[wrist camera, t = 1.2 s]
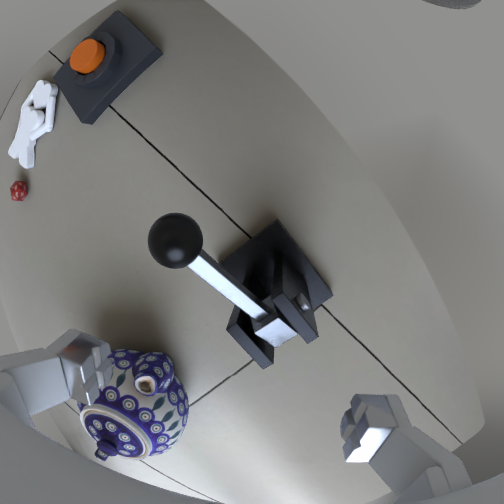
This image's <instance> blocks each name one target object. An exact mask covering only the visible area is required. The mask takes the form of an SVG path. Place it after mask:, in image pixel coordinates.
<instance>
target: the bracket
mask: <svg viewBox="0 0 504 504" xmlns="http://www.w3.org/2000/svg"><path fill="white" fill-rule="evenodd" d="M219 264H220V265H221V266H222V267H223V268H224V269H225V270H227V271H228V272H229V273H230V274H231V275H232V276H233V277H235V278H236V279H237V280H238V281H239V282H240V283H242V284H243V285H244V286H245V287H246V288H247V289H248V290H250V291H251V292H252V293H253V294H254V295H255V296H257V297H258V298H259V299H260V300H261V301H263V300H264V299H266V298H267V297H269V296H270V295H272V297H271V300H272V302H273V303H274V304H275V305H276V306H277V308H278V309H279V310H280V311H281V312H282V314H283V315H284V316H285V317H286V319H287V320H288V321H289V322H290V323H291V325H292V326H293V327H294V328H295V329H296V331H297V332H298V333H299V334H300V335H301V337H302V338H303V339H304V340H305V341H306V343H307V344H308V343H310V342H311V341H313V340H314V339H316V338H318V337H319V336H318V331H317V326H316V322H315V317H314V312H313V309H314V308H316V307H317V306H319V305H320V304H322V303H323V302H325V301H326V300H328V299H329V298H331V297H332V296H333V294H332V291H331V290H330V288H329V287H328V286H327V284H326V283H325V282H324V280H323V279H322V277H321V276H320V275H319V273H318V272H317V271H316V269H315V268H314V267H313V265H312V264H311V262H310V261H309V260H308V258H307V257H306V256H305V254H304V253H303V252H302V250H301V249H300V248H299V246H298V245H297V244H296V242H295V241H294V240H293V238H292V237H291V236H290V234H289V233H288V232H287V231H286V229H285V228H284V227H283V225H282V224H281V223H280V221H279V220H278V219H276V220H275V221H274V222H272V223H271V224H270V225H268V226H267V227H266V228H265V229H263V230H262V231H261V232H259V233H258V234H257V235H255V236H254V237H253V238H251V239H250V240H249V241H247V242H246V243H245V244H243V245H242V246H241V247H239V248H238V249H237V250H235V251H234V252H233V253H231V254H230V255H229V256H227V257H226V258H225V259H224V260H222V261H221V262H220V263H219ZM226 330H227V331H228V332H229V333H230V335H231V336H232V337H233V338H234V339H235V340H236V341H237V342H238V343H239V344H240V345H241V347H242V348H243V349H244V350H245V351H246V352H247V353H248V354H249V355H250V356H251V357H252V358H253V359H254V360H255V361H256V362H257V364H258V365H259V366H260V367H261V368H262V369H265V368H267V367H268V366H270V365H272V364H273V362H274V347H273V346H272V345H270V344H269V343H267V342H266V341H264V340H263V339H262V338H260V337H259V336H257V335H256V334H254V331H253V327H252V323H251V319H250V316H249V315H248V314H247V313H246V312H244V311H243V310H242V309H240V308H239V307H238V306H236V305H235V306H234V309H233V311H232V314H231V317H230V320H229V323H228V325H227V328H226Z"/></svg>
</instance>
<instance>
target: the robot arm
mask: <svg viewBox="0 0 504 504" xmlns="http://www.w3.org/2000/svg"><path fill="white" fill-rule="evenodd" d="M110 353H111V350H110V344H109V343H108V342H106V341H103V340H101V339H98V338H96V337H93V336H91V335H88V334H86V333H83V332H81V331H78V330H76V329H69V330H68V331H67V332H66V333H64V334H63V335H62V336H61V337H60V338H58V339H57V340H56V341H55V342H53V343H52V344H51V345H50V346H49V347H47V348H46V349H43V348H39V349H34V350H29V351H24V352H19V353H14V354H10V355H4V356H0V504H223V503H218V502H213V501H208V500H204V499H199V498H195V497H191V496H187V495H183V494H179V493H176V492H172V491H169V490H166V489H162V488H159V487H156V486H153V485H150V484H147V483H144V482H142V481H139V480H136V479H133V478H131V477H128V476H126V475H123V474H121V473H118V472H116V471H114V470H111V469H109V468H107V467H104V466H102V465H100V464H98V463H96V462H94V461H92V460H90V459H87V458H85V457H84V456H82V455H80V454H78V453H76V452H74V451H72V450H70V449H68V448H67V447H65V446H63V445H61V444H59V443H58V442H56V441H54V440H52V439H51V438H49V437H48V436H46V435H45V434H43V433H41V432H40V431H38V430H36V429H35V426H34V424H33V422H32V420H31V418H30V416H31V415H33V414H36V413H38V412H41V411H43V410H45V409H48V408H50V407H53V406H55V405H57V404H59V403H62V402H64V401H66V400H69V399H70V398H72V399H75V400H77V401H79V402H81V403H83V404H86V405H88V406H90V407H91V405H92V404H93V403H94V401H95V400H96V399H97V397H98V396H99V395H100V394H99V389H101V388H104V387H106V386H107V384H108V383H109V382H110V379H111V376H112V370H113V367H112V362H111V360H110V359H109V357H108V355H109V354H110ZM350 403H351V408H350V409H349V410H347V411H346V412H345V413H344V416H343V418H342V421H341V425H340V433H341V437H342V438H343V439H344V440H345V441H346V443H345V444H344V446H343V451H344V457H345V462H369V464H370V466H371V467H372V468H373V469H374V470H375V471H376V473H377V474H378V475H379V476H380V477H381V478H382V479H383V481H384V482H385V483H386V484H387V485H388V486H389V487H390V489H391V490H392V491H393V492H394V493H395V494H396V495H397V498H396V499H395V500H394V501H393V502H391V503H390V504H504V473H502V474H500V475H498V476H495V477H493V478H491V479H488V480H486V481H483V482H481V483H478V484H475V485H472V483H471V480H470V478H469V476H468V473H467V471H466V470H465V467H464V465H463V462H462V460H461V459H459V458H458V457H457V456H455V455H454V454H452V453H451V452H450V451H448V450H447V449H445V448H444V447H443V446H441V445H440V444H439V443H437V442H436V441H434V440H433V439H432V438H430V437H429V436H428V435H426V434H425V433H424V432H422V431H421V430H419V429H418V428H417V427H412V426H411V423H410V421H409V419H408V416H407V414H406V412H405V409H404V407H403V405H402V403H401V400H400V398H399V396H397V395H371V394H355V395H354V396H353V398H352V400H351V402H350Z"/></svg>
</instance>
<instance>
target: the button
mask: <svg viewBox="0 0 504 504" xmlns="http://www.w3.org/2000/svg"><path fill="white" fill-rule="evenodd" d="M104 56H105V48H104V46H103V45H102V44H100V43H99V42H97V41H95V40H94V39H87V40H84V41H83V42H81V43H80V44H79V45H78V46H77V47H76V48H75V49H74V51H73V53H72V55H71V58H70V66H71V68H72V69H74V70H76V71H78V72H81V73H84V74H87V73H90V72H92V71H94V70H95V69H96V68H97V67H98V66H99V65H100V64H101V62H102V61H103V59H104Z"/></svg>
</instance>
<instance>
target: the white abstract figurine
mask: <svg viewBox="0 0 504 504" xmlns="http://www.w3.org/2000/svg"><path fill="white" fill-rule="evenodd" d="M57 92H58V87H57V85H56V84H50V82H49V81H44V80H39V81H38V82H37V83H36V85H35V87H34V88H33V89H32V91H31V92H30V94H29V96H28V97H27V99H26V100H25V102H24V104H23V105H22V107H21V116H20V120H19V125H18V130H17V132H16V134H15V136H16V137H15V139H14V141H13V143H12V145H11V146H10V148H9V150H8V154H9V155H10V156H11V157H12V158H19V163H20V164H21V165H22V166H23V167H24V168H25V169H27V168H32V167H34V145H36V139H37V138H38V137H40V136H41V135H42V134H44V133H45V132H50V131H52V129H53V125H54V114H55V104H56V95H57ZM33 102H34V106H31V105H32V103H33ZM45 107H46V116H45V115H44V112H43V111H41V110H37V109H43V108H45ZM44 117H45V123H43V122H44Z"/></svg>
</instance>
